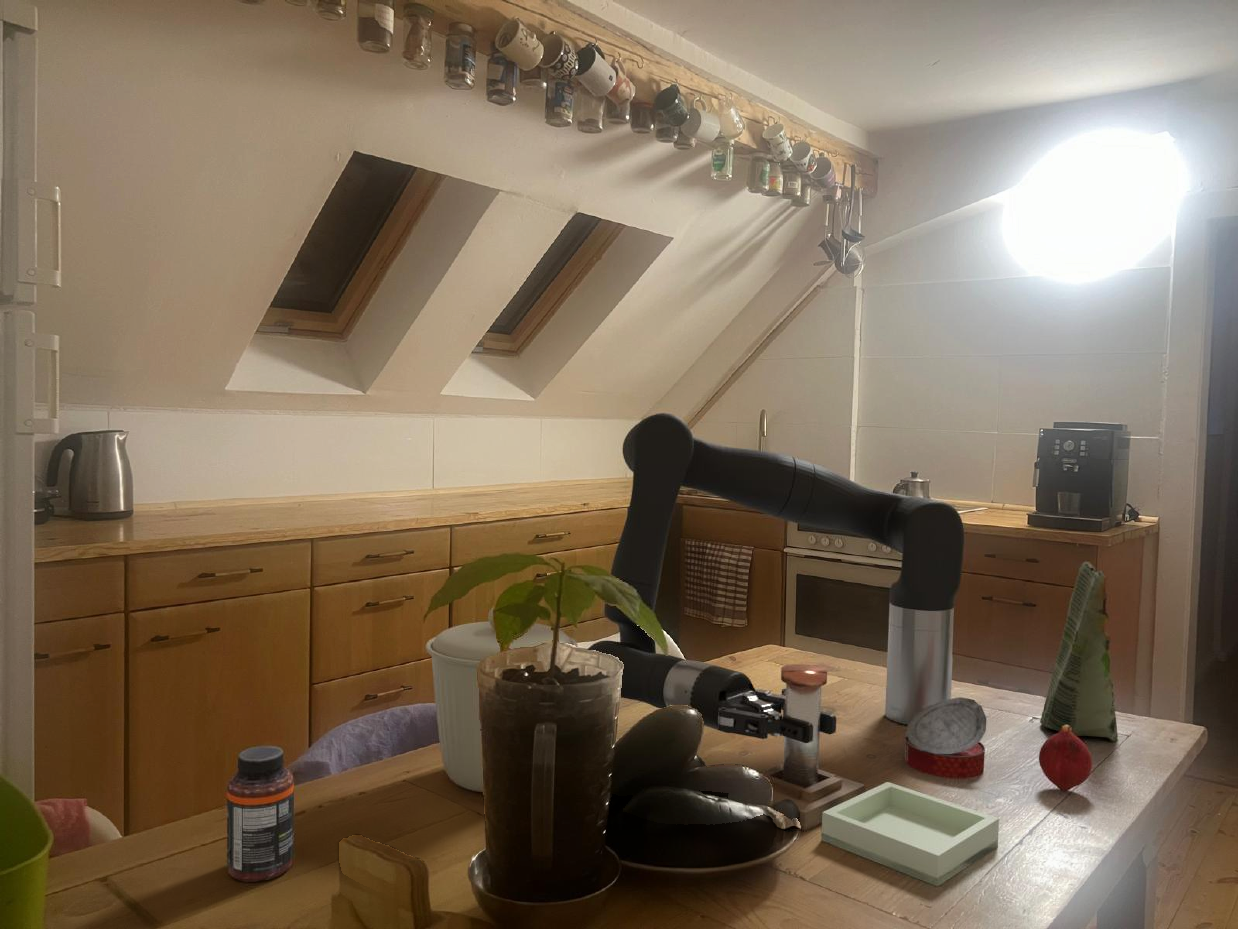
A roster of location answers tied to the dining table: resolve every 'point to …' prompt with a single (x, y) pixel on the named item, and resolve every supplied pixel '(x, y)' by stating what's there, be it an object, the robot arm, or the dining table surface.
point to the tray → (911, 832)
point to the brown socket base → (810, 795)
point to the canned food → (947, 739)
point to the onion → (1065, 759)
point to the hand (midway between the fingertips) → (822, 729)
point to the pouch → (1083, 665)
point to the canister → (468, 691)
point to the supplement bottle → (260, 816)
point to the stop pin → (806, 707)
